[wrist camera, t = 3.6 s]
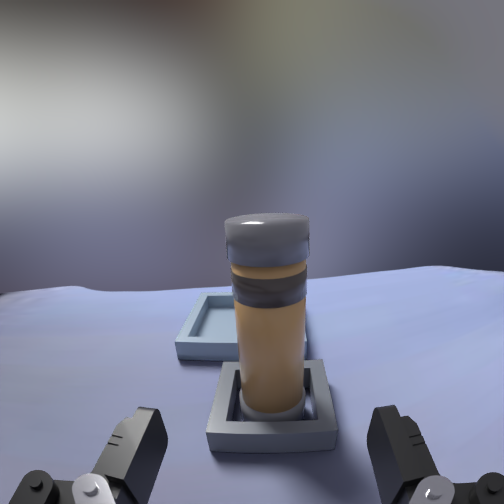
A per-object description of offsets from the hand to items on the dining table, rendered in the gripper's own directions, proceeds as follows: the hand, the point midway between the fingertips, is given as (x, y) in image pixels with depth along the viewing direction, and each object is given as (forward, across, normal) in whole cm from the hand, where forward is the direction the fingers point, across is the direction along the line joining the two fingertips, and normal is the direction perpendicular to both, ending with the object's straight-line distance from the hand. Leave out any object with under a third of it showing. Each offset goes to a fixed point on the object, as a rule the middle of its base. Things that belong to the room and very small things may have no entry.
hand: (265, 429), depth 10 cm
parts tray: (+22, +3, +8) cm, 23 cm away
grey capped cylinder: (+9, 0, +8) cm, 12 cm away
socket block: (+9, 0, +8) cm, 12 cm away
